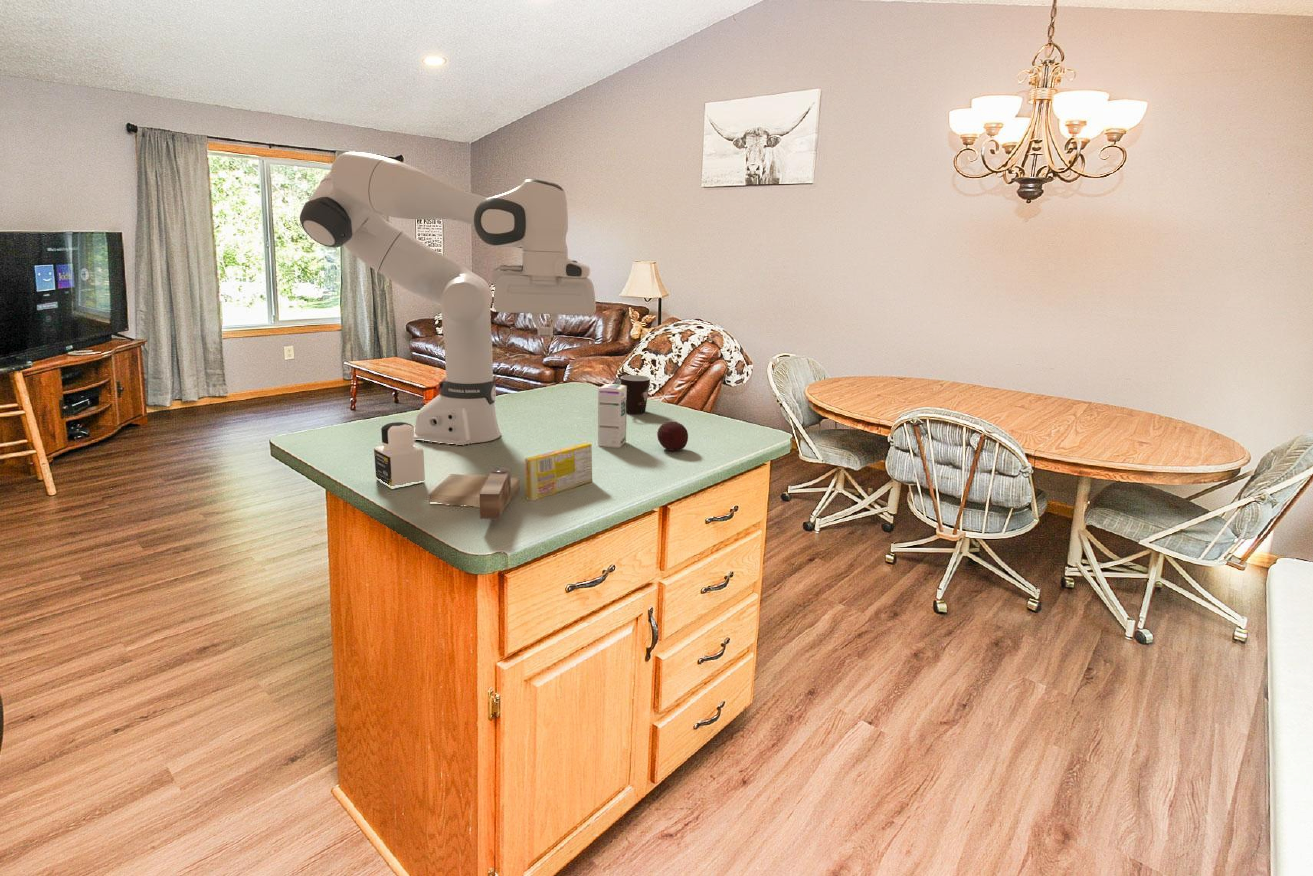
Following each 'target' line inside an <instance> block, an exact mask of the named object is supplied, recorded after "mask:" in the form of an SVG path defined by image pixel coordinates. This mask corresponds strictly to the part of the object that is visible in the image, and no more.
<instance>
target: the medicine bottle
mask: <svg viewBox="0 0 1313 876" xmlns="http://www.w3.org/2000/svg"><path fill="white" fill-rule="evenodd" d="M380 431H381V443H382V445H381V446H375V447H374V449H373V454H374V465H375V466H374V468H375V478H376V477H377V478H378V479H381V480H382V481H383V482H385V483H387V484H388V485H390V486H395V485H403V484H406V483H411V482H419V481H424V480H425V481H426V479H425V478H426V476H425V475H426V474H425V452H424V449H423V448H421V447H419V446H417V445H415V440H414V426H413V425H412V424H411V423H408V422H403V421H398V422H397V421H396V422H390V423H386V424H385V425H382V427H381V428H380Z"/></svg>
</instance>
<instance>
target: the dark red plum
mask: <svg viewBox="0 0 1313 876" xmlns="http://www.w3.org/2000/svg"><path fill="white" fill-rule="evenodd" d="M656 434H657V435H656V436H657V441H658V442H659V444H660V445H661V447H662V448H664V449H666V450H669V451H677V452H678V451H681V450H683V449H684V448H685V447H686V446H687V444H688V441H689V433H688V430H687V429H686V426H684V425H683V424H682V423H680V422H677V421H667V422H665V423H663V424H661V425H660V426H659V427H658V429H657V433H656Z"/></svg>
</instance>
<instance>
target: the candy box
mask: <svg viewBox="0 0 1313 876" xmlns="http://www.w3.org/2000/svg"><path fill="white" fill-rule="evenodd" d="M592 450H593V449H592V443H590V442H589V443H588V442H584V443H580V444H577V445H573V446H572V445H571V446H568V447H565V448H562V449H556V450H553V451H550V452H545V453H542V454H537V455H534V456H530V457H526V458H524V465H525V467H524V469H525V470H524V471H525V472H524V473H525V499H527V498H528V499H527V500H529V499H530V501H533V500H534V499H535V500H538V499H541V498H544V497H547V495H548V496H551V495H553V494H557V493H560V492H564V491H566V490H570V489H574V488H577V487H579V486H584V485H585V484H590V483H593V454H592ZM537 498H538V499H537Z"/></svg>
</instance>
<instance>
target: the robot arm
mask: <svg viewBox="0 0 1313 876" xmlns="http://www.w3.org/2000/svg"><path fill="white" fill-rule="evenodd" d="M382 215H383V216H387V217H392V218H397V219H404V220H405V219H406V220H451V221H457V222H462V223H465V224H469V225H472V226H474V229H475V232H476V234H477V236H478V237H479V239H480V240H481V241H482V242H484V243H485V244H486V245H490V246H492V247H496V248H519V249H521V250H522V252H521V253H522V255H521V257H522V259H521V260H522V263H521V264H522V265H519V264H517V265H516V264H513V265H508V264H500V265H499V266H497V267H495V268H494V269H493V271H492V274H491V275H492V277H491V279H492V281H491V282H492V284H493V287H494V292H493V293H492V289H491V287H490V286H489V284H488V283H487V281H486V280H485V279H484V278H482V276H479V275H478V274H476V273H474V272H472V271H471V270H469V269H468V268H466V267H464V266H462V265H461V264H459V263H458V262H456V261H454V260H452V259H450V258H448V257H447V256H445V255H443V254H441V253H440V252H438V251H436V250H435V249H432V248H431V247H429V246H428V245H426V244H425V243H423V242H422V241H420V240H419V239H417V238H415V237H414V236H412V235H410V234H409V233H408V232H405V231H404V230H403V229H400V227H397V226H396V225H394V224H392V223H390V222H389V221H388V220H386V219H385V218H384V217H383V216H382ZM568 217H569V215H568V202H567V196H566V192H565V190H564V189H563V187H562V186H561V185H559V184H558V183H554V182H551V181H547V180H546V181H545V180H542V179H539V178H538V179H536V178H528V179H525V180H524V181H523V182H522V183H521V184H520V185H519V186H516V187H515V188H513V189H511V190H508V191H507V192H504V193H501V194H498V195H494V196H490V197H488V196H484V195H482V194H477V193H475V192H471V191H469V190H463V189H460V188H458V187H456V186H453V185H451V184H449V183H447V182H445V181H442V180H440V179H439V178H437V177H435V176H432V175H430V174H428V173H426V172H424V171H422V170H421V169H418V168H416V167H414V166H412V165H409V164H407V163H404V162H402V161H399V160H397V159H394V158H391V157H386V156H383V155H378V154H374V153H368V152H358V151H346V152H343V153H340V154H339V155H338V156H337V157H336V158H335V159H334V161H333V163H332V165H331V167H330V171H329V172H328V173H327V174H326V175H325V176H324V177H323V179H322V180H321V181H320V182H319V185H318V186H317V187H316V189H315V191H314V192H313V193H312V195H311V197H310V198H309V200H308V201H306V202H305V204H304V205H303V206H302V209H301V211H300V215H299V222H300V225H301V227H302V229H303V231H304V232H305V234H307V235H308V236H309V237H310V239H312V240H313V241H315V242H317V243H318V244H320V245H322V246H324V247H327V248H333V249H334V248H339V247H342V246H344V247H345V249H347V250H348V251H349V252H351V253H352V254H353V255H354V256H355V257H356V258H357V259H359V260H360V261H361V262H362V263H364V264H365V265H367V267H370V268H371V269H373V270H374V271H376V272H377V273H379V274H380V275H382V276H384V277H386V278H387V279H388V280H390V281H392V282H394V283H395V284H397V285H398V286H400V287H402V288H403V289H405V290H407V291H409V292H411V293H412V294H415V295H417V296H419V297H421V298H423V299H426V300H428V301H429V302H432V303H433V304H435V305H438V306H439V307H440V312H441V313H440V314H441V323H442V325H441V326H442V334H443V341H444V342H443V343H444V353H445V354H444V355H445V357H444V358H445V361H444V362H445V377H444V378H442V379H441V381H439V382H438V384H436V390H438V392H439V394H438V395H436V396H435V397H434V398H433V399H431V400H430V401H429V402H427V403H426V404H425V405H423V407H421V408H420V409H419V410H418V412H417V414H416V418H415V422H414V423H415V425H414V426H413V427H414V439H424V440H430V441H437V442H442V443H453V444H457V445H463V446H465V445H464V444H468V445H470V444H469V443H471V444H476V443H484V442H485V443H486V442H490V441H493V440H494V441H495V440H496V439H498V438H500V437H501V436H502V434H501V433H502V432H501V431H500V427H499V424H498V418H497V414H496V406H495V402H496V397H497V394H496V393H497V392H496V391H497V390H496V380H495V379H494V370H493V369H494V364H493V363H494V361H493V359H494V358H493V337H492V319H491V317H492V316H491V308H492V307H491V306H492V304H493V309H494V310H495V311H496V312H497V313H502V314H503V313H505V314H507V313H509V314H531V320H532V321H533V323H534V326H535V327H536V329H537V337H539V338H541V337H546V338H547V337H548V338H553V337H554V327H555V326H556V324H557V322H558V320H559V315H562V316H563V315H565V316H588V317H589V316H593V315H594V314H595V312H596V311H597V307H596V304H597V303H596V292H595V286H594V284H593V281H592V280H591V279H590V278H589V276H590V274H591V270H590V269H591V268H590V266H588V265H587V264H584V263H581V262H578V261H577V260H575V259H574V260H573V259H569V257H568V256H569V254H568V253H569V250H568V246H567V233H568V230H569V229H568V228H569V220H568ZM492 302H493V303H492ZM541 315H550V320H551V321H552V322H551V324H550V325H549V326H542V324H541V322H540V321H539V319H540V318H541ZM457 445H456V446H457Z"/></svg>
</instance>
